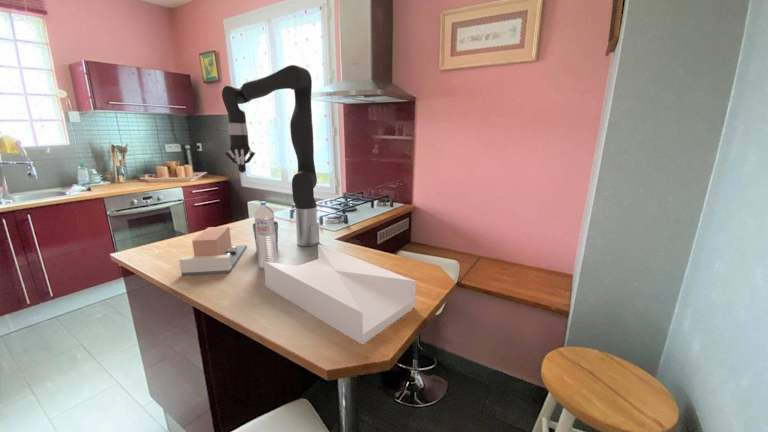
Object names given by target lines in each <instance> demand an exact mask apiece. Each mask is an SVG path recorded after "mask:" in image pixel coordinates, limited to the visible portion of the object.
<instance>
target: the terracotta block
mask: <svg viewBox="0 0 768 432" xmlns="http://www.w3.org/2000/svg"><path fill="white" fill-rule="evenodd" d="M230 230H231V229H230V226H216V227H215V226H211V227H206V228H205V229H204V230H203V231H202V232H201V233H200V234H198V235H197V236H196V237H195V238H193V240H192V239H191V242H192V243H191V244H192V248H193V256H214V255H224V254H225V252H226V251H227V250H228V249H229V247H230V246H232V240H231V231H230Z"/></svg>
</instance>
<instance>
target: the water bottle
mask: <svg viewBox="0 0 768 432" xmlns="http://www.w3.org/2000/svg"><path fill="white" fill-rule="evenodd" d="M259 204H260V206H259V207H257V209H256V210H255V212H254V214H253V215H254V216H253V217H254V223H255V226H256V241H257V249H256V253H257V261H258V266H259V268H261V269H264V262H272V263H278V250H277V249H276V235H275V226H274V221H275V218H274V217H275V212H274V211H273V210H272V209H271V208H270V207H269V206H267V202H266V201H261V202H260V203H259ZM256 241H255V242H256Z"/></svg>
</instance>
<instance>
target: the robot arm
mask: <svg viewBox="0 0 768 432" xmlns="http://www.w3.org/2000/svg"><path fill="white" fill-rule="evenodd" d="M312 82H313V80H312V75H311V73H310V71H309V70H308V69H307V68H305V67H302V66H300V65H296V64H289V65H287V66H285V67H283V68H280V69H278V70H277V71H276V72H273V73H271V74H269V75H266V76H264V77H260V78H257V79H253V80H250V81H247V82H243V84H242V85H241V86H234V85H225V86H224V87H223V88H222V91H221V97H222V101H223V104H224V106H225V109H226V113H227V117H228V132H229V142H230V147H229V150H228V151H225V153H224V154H225V155H226V156H227V157H228V158H229V159H230V160H231V161H232V162H233V163H234V164H237V167H238V168H237V169H238V172H239V173H242V174H244V173H245V172H246V171H247V170H246V169H247V168H246V164H249V163H250V162H251V160H252V159H253V158H254V156H255V155H256V152H255V151H253V150H252V149H251V147H250V145H249V135H248V134H249V131H248V127H247V119H246V117H247V116H246V112H245V110H243V109H241V108H240V106H239V105H243V104H247V103H249V102H250V101H251V102H252V101H253V100H257V99H261V98H263V97H266V96H268V95H269V94H272V93H273V92H275V91H278V90H285V89H289V90H290V89H291V90H292V91H293V92H294V108H293V112H292V114H291V115H292V116H291V119H290V122H289V125H290V126H289V128H290V139H291V143H292V146H293V147H292V148H293V149H294V153H295V155H296V161H297V172H296V173H295V174H294V175H293V176H292V180H291V191H292V200H293V202H294V208H295V209H294V211H295V226H296V227H295V229H296V243H297V245H298V246H300V247H314V246H316V245H318V244H319V243H320V223H319V222H318V221H317V219H318V218H317V216H318V215H317V201H316V200H315V197H314V195H315V194H314V193H315V192H314V188H316V185H317V184H318V178H317V171H316V166H315V165H316V164H315V160H314V159H315V158H314V157H315V156H314V155H315V152H314V151H315V149H314V148H315V147H314V130H313V129H314V126H313V116H312V115H313V112H312V89H313V88H312V87H313V85H312V84H313V83H312ZM248 154H249V156H248ZM247 156H248V157H247ZM246 158H247V159H246ZM318 242H319V243H318Z"/></svg>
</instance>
